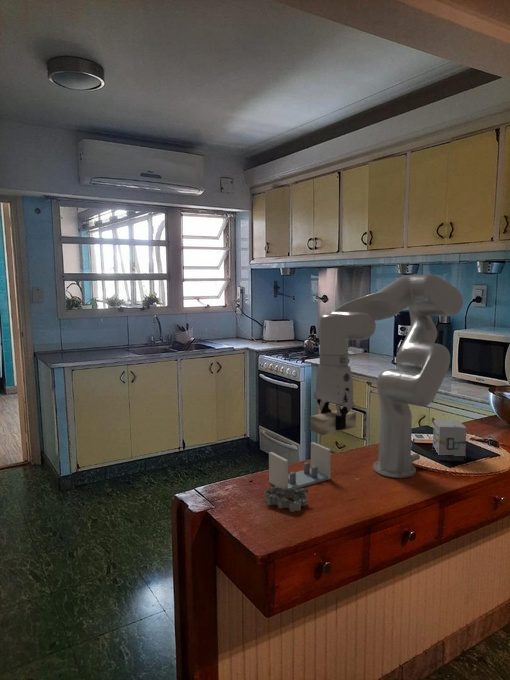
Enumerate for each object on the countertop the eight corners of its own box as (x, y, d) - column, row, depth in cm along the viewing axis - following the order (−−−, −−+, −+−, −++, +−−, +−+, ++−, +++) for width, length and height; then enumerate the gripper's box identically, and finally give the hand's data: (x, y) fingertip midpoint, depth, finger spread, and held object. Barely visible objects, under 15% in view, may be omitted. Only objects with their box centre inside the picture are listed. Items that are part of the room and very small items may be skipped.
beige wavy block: (342, 422, 133) (342, 408, 132) (355, 427, 128) (355, 412, 128) (310, 430, 126) (310, 415, 125) (322, 435, 122) (322, 420, 121)
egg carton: (310, 504, 124) (310, 489, 124) (295, 515, 118) (295, 499, 118) (276, 493, 131) (276, 479, 130) (261, 503, 124) (261, 489, 124)
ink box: (432, 452, 161) (433, 419, 160) (458, 453, 160) (459, 419, 159) (438, 461, 153) (439, 426, 152) (465, 462, 152) (467, 427, 150)
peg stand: (313, 470, 146) (313, 442, 145) (330, 478, 140) (330, 449, 139) (269, 482, 138) (268, 452, 137) (285, 492, 131) (285, 461, 130)
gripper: (367, 363, 120) (366, 432, 122) (322, 355, 134) (322, 417, 136) (346, 366, 116) (345, 437, 118) (302, 357, 130) (302, 421, 132)
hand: (333, 426), depth 127 cm, fingers closed on beige wavy block, 5 cm apart
